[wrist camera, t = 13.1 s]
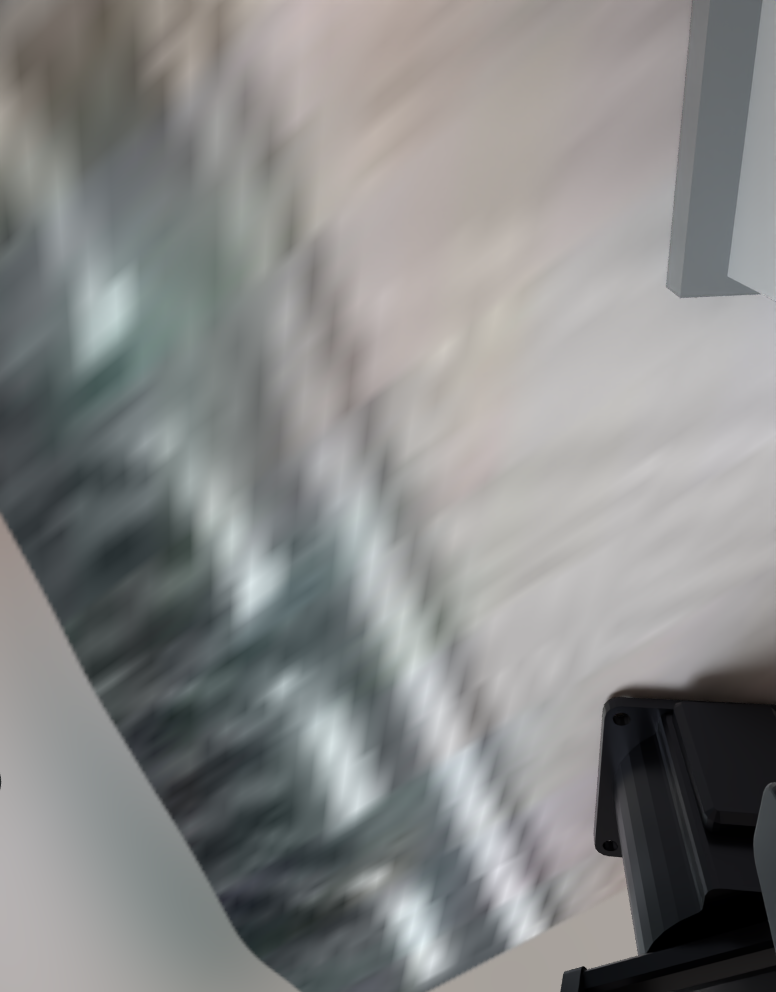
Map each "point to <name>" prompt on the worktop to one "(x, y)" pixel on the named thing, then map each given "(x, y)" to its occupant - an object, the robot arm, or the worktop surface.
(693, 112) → the socket dock
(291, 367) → the worktop surface
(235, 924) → the worktop surface
